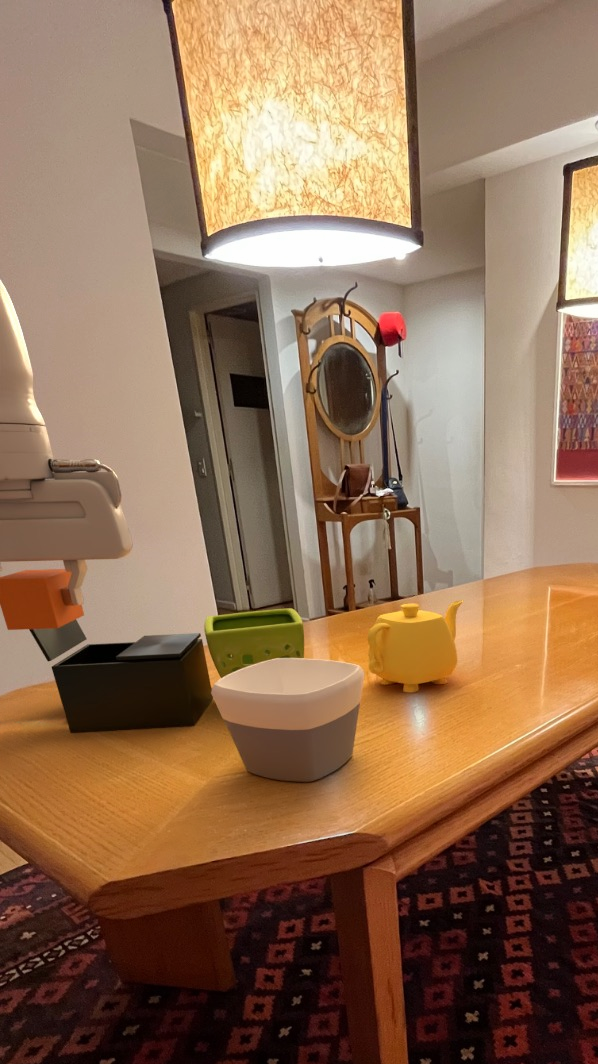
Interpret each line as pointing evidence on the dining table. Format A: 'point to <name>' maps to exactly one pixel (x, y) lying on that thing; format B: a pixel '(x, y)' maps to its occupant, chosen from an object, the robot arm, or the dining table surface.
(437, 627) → the teapot
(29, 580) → the cube
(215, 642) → the flower pot
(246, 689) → the bowl
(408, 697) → the dining table surface
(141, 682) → the black lidded box
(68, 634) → the flap
